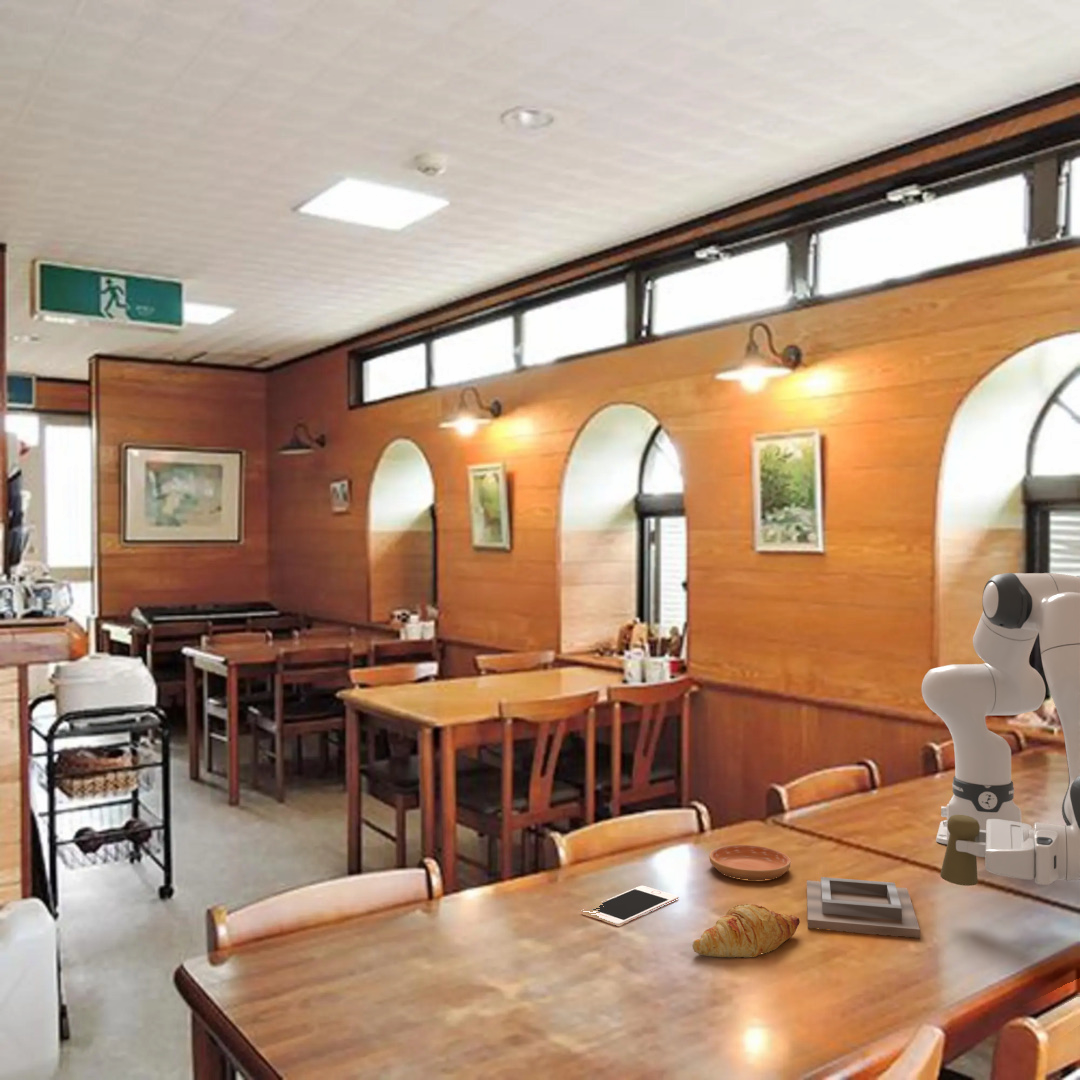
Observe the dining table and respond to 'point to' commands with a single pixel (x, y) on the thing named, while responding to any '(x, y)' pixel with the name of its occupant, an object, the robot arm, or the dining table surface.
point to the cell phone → (632, 904)
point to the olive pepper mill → (957, 863)
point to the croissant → (746, 932)
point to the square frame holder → (861, 907)
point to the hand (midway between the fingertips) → (956, 840)
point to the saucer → (749, 862)
